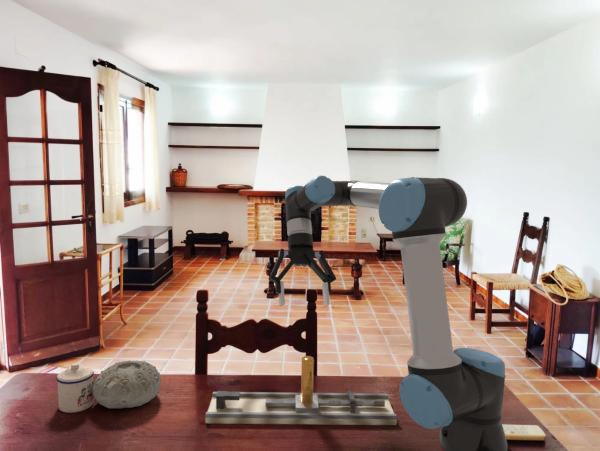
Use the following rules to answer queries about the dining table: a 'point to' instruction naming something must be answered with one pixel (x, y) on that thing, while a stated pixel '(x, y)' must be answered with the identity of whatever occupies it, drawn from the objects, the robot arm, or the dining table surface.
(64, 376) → the teacup with lid
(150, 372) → the grey rounded lump
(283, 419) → the rail
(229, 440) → the dining table surface
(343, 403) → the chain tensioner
